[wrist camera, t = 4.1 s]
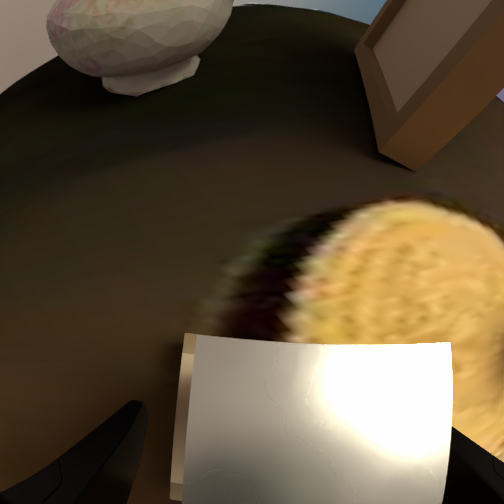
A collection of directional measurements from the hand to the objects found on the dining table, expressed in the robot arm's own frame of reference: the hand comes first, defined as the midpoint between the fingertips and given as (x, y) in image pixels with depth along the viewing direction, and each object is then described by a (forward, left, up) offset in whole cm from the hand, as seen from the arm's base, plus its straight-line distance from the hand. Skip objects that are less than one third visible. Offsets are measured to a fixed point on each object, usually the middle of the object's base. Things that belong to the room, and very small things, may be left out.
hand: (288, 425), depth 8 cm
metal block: (0, 0, -7) cm, 7 cm away
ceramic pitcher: (+11, +33, -8) cm, 36 cm away
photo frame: (+32, +11, -8) cm, 35 cm away
